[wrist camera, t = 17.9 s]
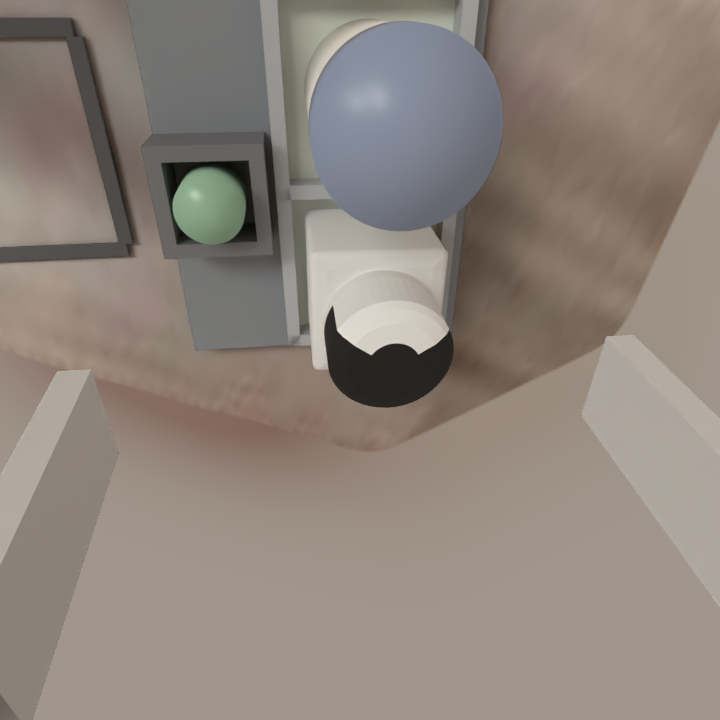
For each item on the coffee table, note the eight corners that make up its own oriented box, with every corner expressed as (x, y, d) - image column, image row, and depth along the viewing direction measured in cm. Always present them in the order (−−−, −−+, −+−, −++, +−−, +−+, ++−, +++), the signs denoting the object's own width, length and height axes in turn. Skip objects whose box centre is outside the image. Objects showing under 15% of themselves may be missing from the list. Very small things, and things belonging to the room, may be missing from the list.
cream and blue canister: (300, 156, 31) (307, 228, 21) (303, 10, 27) (313, 12, 17) (421, 162, 32) (482, 234, 22) (439, 22, 28) (524, 31, 18)
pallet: (197, 341, 38) (189, 375, 35) (122, -49, 26) (97, -56, 23) (447, 326, 40) (462, 357, 37) (486, -45, 28) (515, -51, 24)
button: (187, 226, 31) (179, 246, 29) (175, 161, 29) (166, 176, 27) (250, 223, 32) (248, 243, 29) (243, 159, 30) (240, 174, 27)
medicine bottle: (412, 308, 37) (459, 421, 27) (308, 312, 37) (318, 430, 27) (420, 205, 33) (479, 294, 23) (304, 207, 33) (314, 299, 23)
